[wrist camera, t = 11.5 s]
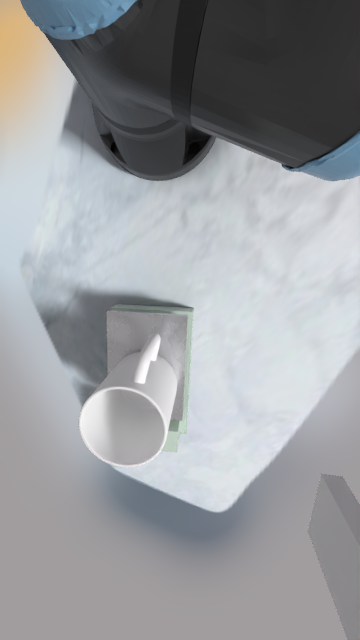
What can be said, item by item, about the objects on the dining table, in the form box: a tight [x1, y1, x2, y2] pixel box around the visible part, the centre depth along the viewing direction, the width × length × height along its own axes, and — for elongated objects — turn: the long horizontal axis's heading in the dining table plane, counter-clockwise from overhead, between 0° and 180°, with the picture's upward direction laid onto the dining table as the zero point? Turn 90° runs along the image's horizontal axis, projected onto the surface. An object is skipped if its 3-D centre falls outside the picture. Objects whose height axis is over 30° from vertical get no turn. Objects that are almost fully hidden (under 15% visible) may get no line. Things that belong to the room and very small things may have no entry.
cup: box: [79, 333, 177, 467], centre depth 29 cm, size 8×12×10 cm
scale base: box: [111, 304, 194, 452], centre depth 37 cm, size 19×11×7 cm, turn 178°
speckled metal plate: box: [106, 310, 188, 421], centre depth 35 cm, size 14×10×3 cm
